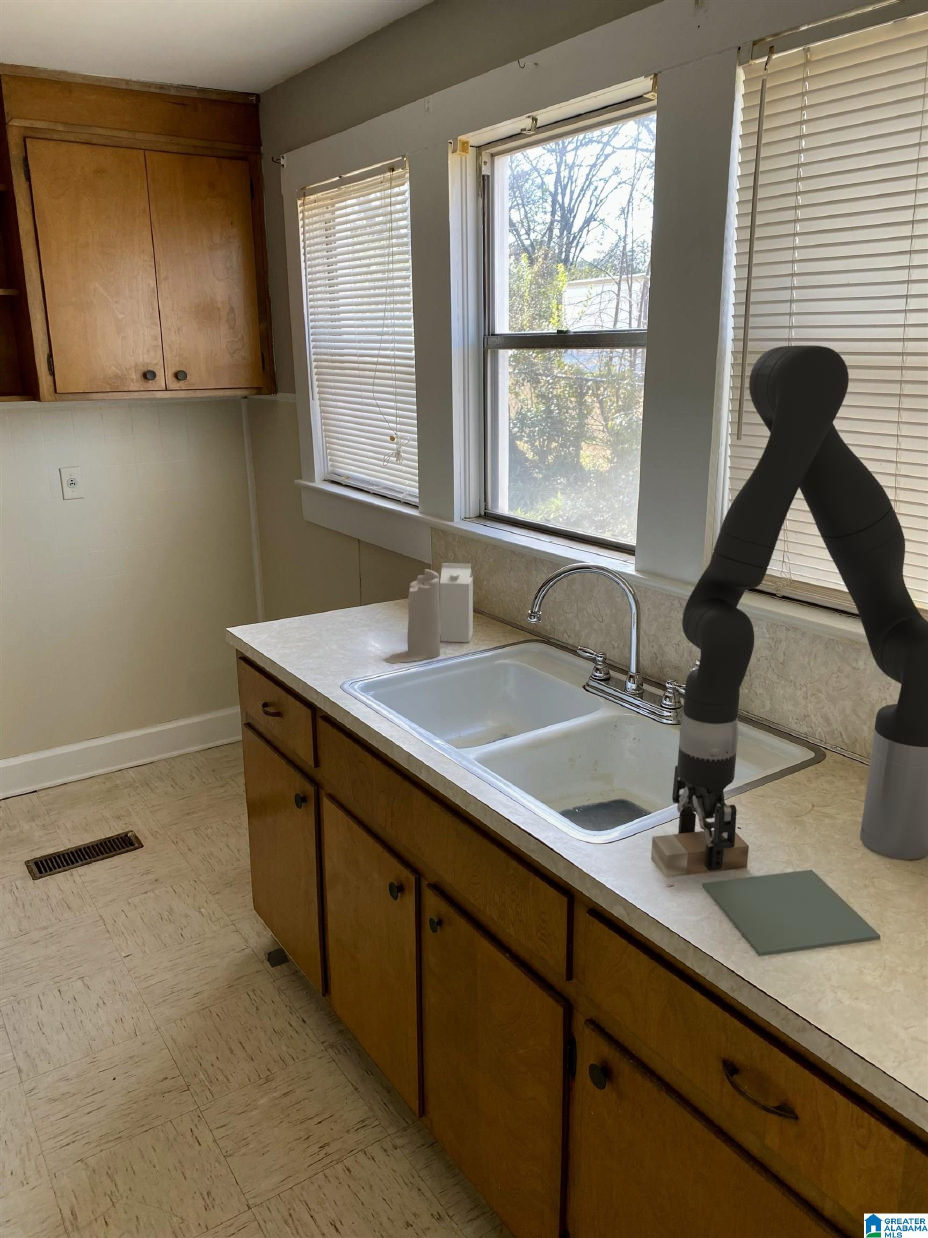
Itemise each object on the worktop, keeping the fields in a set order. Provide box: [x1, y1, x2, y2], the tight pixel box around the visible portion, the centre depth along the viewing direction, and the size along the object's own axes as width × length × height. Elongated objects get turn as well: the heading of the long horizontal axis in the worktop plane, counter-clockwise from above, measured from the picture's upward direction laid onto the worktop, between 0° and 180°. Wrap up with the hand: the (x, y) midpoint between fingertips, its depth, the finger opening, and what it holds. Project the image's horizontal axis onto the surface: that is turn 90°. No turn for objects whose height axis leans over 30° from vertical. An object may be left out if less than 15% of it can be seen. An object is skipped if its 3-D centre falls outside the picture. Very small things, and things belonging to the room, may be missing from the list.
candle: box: [382, 568, 441, 664], centre depth 211 cm, size 7×14×20 cm, turn 121°
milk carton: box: [439, 562, 474, 643], centre depth 225 cm, size 7×7×19 cm
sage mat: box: [702, 869, 881, 957], centre depth 117 cm, size 16×15×1 cm
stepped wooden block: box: [650, 829, 750, 879], centre depth 127 cm, size 12×5×4 cm, turn 102°
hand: (699, 852), depth 127 cm, fingers open, 8 cm apart
